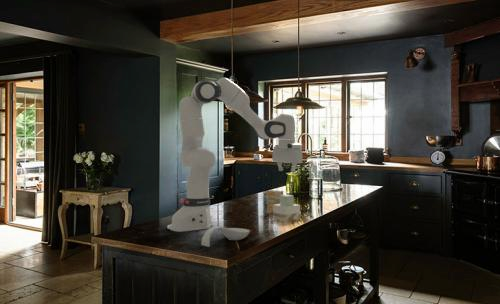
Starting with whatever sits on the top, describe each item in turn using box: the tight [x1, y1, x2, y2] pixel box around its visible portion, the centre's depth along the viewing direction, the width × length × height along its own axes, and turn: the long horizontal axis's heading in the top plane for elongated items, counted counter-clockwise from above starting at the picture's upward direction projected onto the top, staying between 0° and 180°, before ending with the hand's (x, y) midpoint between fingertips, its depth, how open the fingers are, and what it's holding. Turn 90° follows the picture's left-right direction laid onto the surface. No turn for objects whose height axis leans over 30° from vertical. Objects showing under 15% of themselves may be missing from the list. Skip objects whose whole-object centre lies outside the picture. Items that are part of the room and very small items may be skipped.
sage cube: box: [280, 194, 295, 206], centre depth 219 cm, size 5×5×5 cm
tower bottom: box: [272, 212, 301, 223], centre depth 220 cm, size 10×10×4 cm
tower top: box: [273, 203, 301, 215], centre depth 219 cm, size 10×10×4 cm
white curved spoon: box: [201, 225, 250, 248], centre depth 176 cm, size 24×12×7 cm, turn 137°
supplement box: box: [266, 189, 284, 215], centre depth 236 cm, size 8×5×13 cm, turn 62°
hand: (286, 171), depth 218 cm, fingers open, 8 cm apart
